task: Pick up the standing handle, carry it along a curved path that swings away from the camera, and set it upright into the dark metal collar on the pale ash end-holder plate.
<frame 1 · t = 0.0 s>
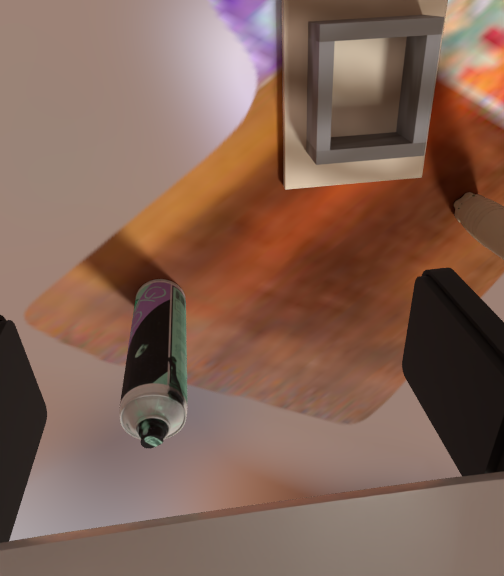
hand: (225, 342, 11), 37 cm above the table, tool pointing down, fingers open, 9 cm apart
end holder: (357, 85, 44), on the table
handle: (464, 204, 52), on the table
spray can: (160, 298, 54), on the table
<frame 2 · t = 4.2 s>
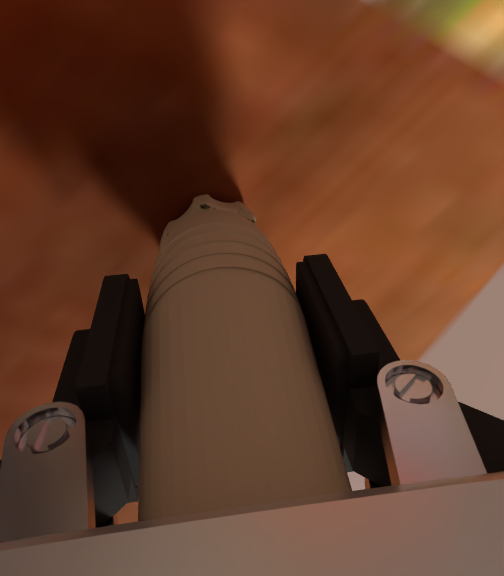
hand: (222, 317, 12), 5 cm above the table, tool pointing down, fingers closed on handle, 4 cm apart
handle: (211, 233, 16), on the table, touching gripper
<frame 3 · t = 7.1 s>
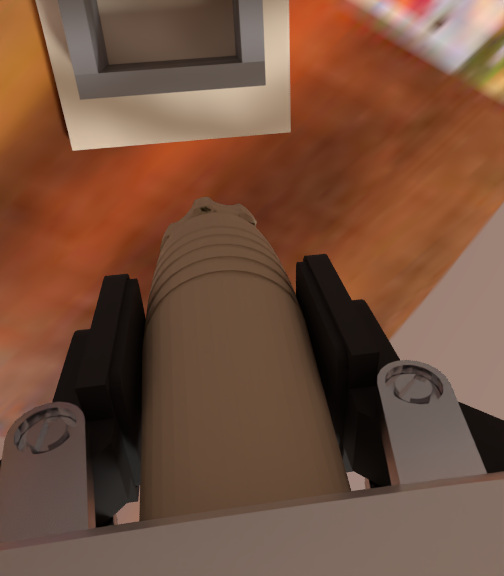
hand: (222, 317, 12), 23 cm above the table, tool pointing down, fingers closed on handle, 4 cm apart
handle: (212, 235, 16), point 18 cm above the table, touching gripper
when the fingers open (7 cm above the table, at t = 10.0 s): handle drops 1 cm, resting on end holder.
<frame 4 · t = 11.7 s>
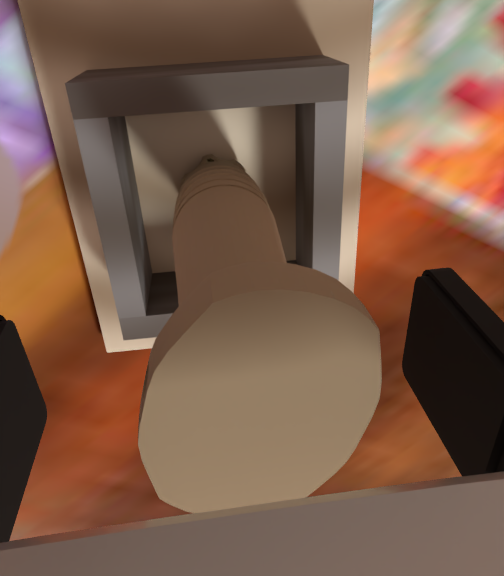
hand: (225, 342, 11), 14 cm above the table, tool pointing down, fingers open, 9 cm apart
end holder: (217, 181, 24), on the table
handle: (215, 184, 23), point 1 cm above the table, touching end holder
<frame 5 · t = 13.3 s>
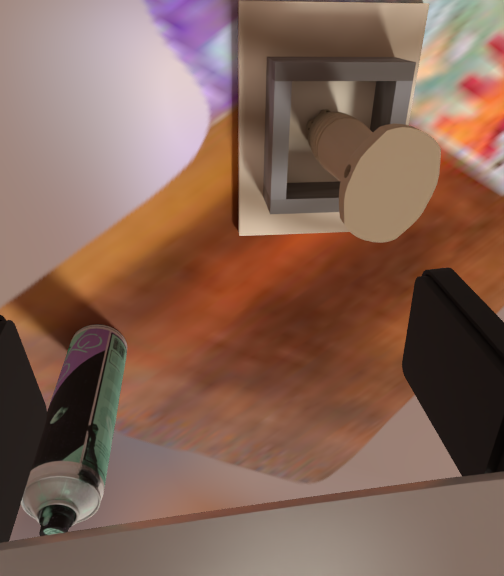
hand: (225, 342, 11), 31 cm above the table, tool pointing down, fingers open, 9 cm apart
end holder: (322, 128, 40), on the table
handle: (323, 128, 39), point 1 cm above the table, touching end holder
spray can: (99, 345, 48), on the table
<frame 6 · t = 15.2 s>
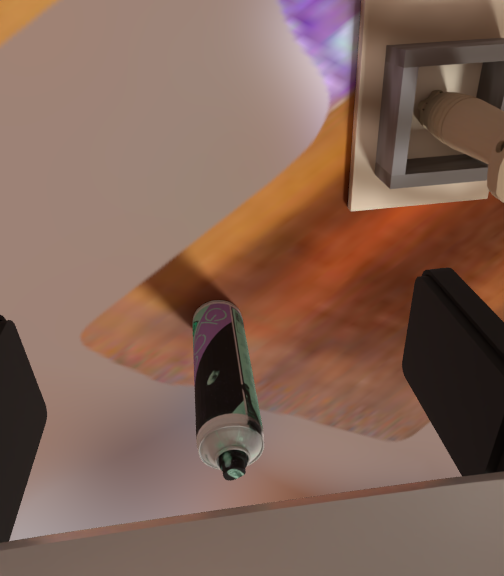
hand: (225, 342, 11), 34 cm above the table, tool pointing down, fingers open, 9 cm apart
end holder: (429, 107, 44), on the table
handle: (432, 108, 43), point 1 cm above the table, touching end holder
spray can: (217, 319, 53), on the table
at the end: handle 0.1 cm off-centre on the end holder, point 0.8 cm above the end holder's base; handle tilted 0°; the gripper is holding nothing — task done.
